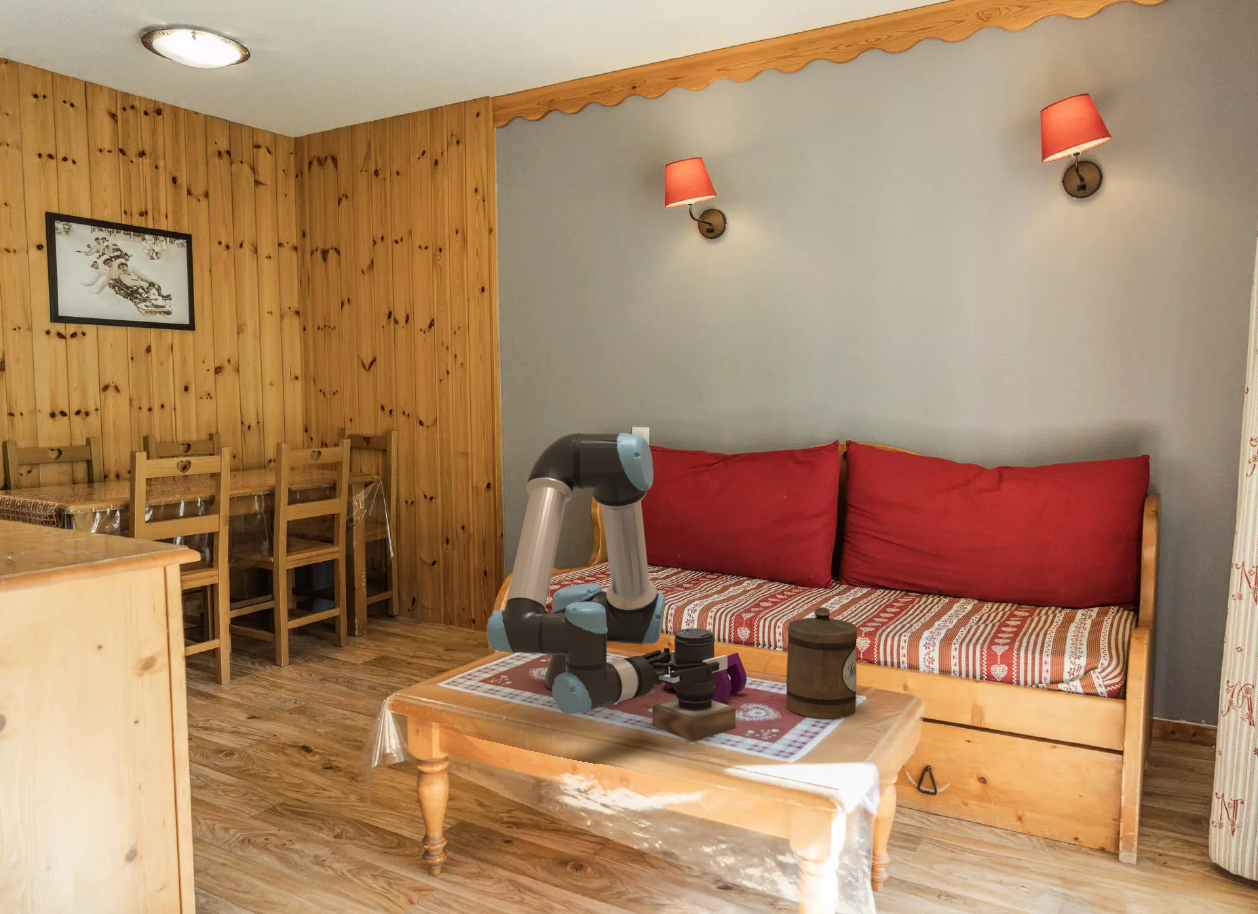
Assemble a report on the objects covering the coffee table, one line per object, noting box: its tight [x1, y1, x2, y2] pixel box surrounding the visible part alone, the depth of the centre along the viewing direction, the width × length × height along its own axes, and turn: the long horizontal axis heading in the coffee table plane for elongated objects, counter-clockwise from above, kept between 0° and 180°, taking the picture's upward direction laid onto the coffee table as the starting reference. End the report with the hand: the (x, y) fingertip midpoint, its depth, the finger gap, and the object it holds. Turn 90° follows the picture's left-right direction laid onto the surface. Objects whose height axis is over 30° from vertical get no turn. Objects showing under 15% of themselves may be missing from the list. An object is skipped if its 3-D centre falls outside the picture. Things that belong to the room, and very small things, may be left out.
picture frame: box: [651, 698, 737, 742], centre depth 180 cm, size 12×12×4 cm
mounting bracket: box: [664, 652, 748, 703], centre depth 201 cm, size 9×8×18 cm
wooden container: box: [785, 606, 858, 720], centre depth 191 cm, size 15×15×22 cm
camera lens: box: [674, 627, 715, 710], centre depth 179 cm, size 8×8×15 cm
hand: (709, 657), depth 182 cm, fingers open, 8 cm apart
